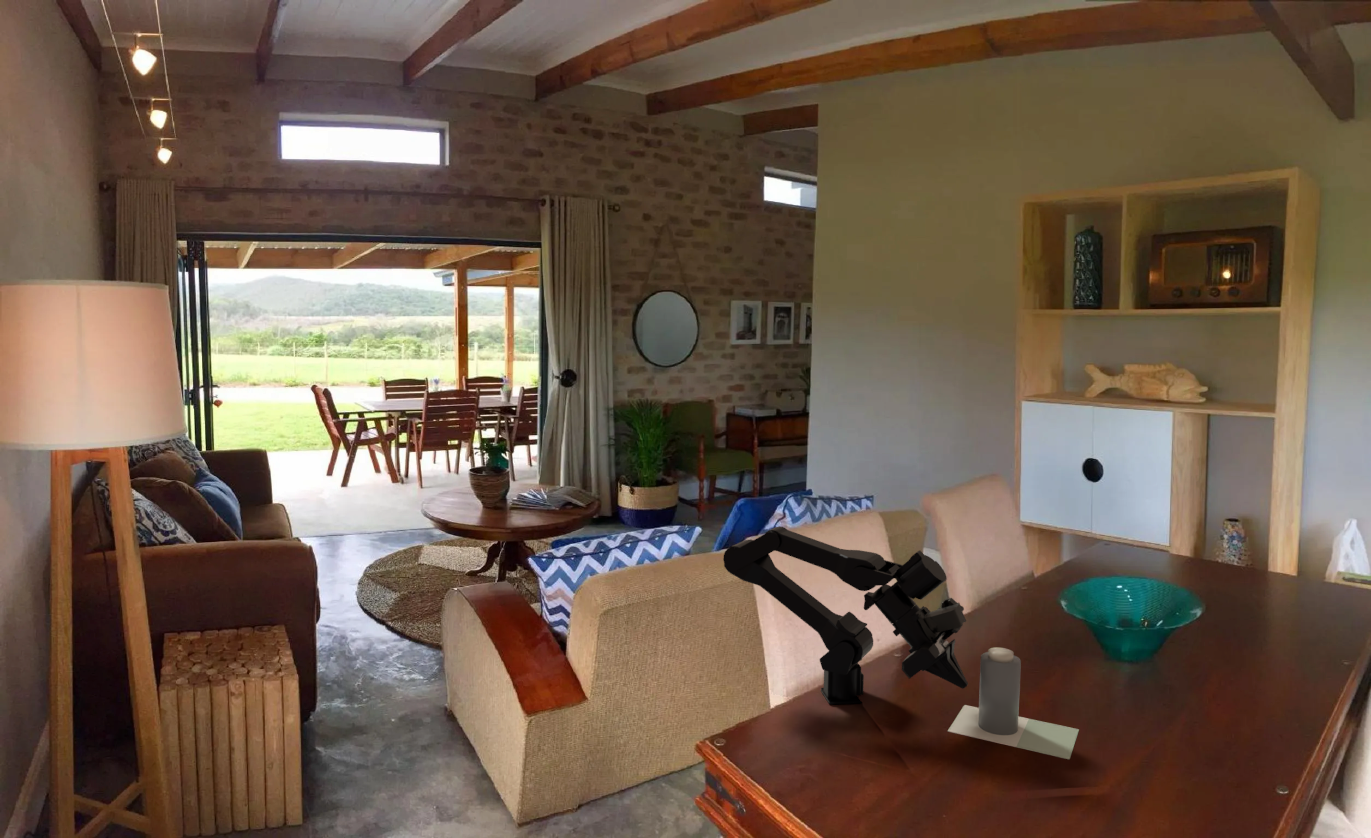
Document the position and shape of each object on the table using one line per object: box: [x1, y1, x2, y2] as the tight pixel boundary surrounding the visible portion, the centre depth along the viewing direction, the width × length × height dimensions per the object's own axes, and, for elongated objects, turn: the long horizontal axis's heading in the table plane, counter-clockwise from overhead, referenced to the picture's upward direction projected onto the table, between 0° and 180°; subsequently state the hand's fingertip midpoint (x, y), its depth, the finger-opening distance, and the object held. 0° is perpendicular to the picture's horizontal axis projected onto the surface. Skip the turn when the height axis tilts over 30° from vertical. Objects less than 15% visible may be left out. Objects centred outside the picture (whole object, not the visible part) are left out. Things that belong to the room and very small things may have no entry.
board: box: [947, 704, 1080, 760], centre depth 149 cm, size 19×12×1 cm, turn 59°
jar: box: [978, 647, 1022, 735], centre depth 150 cm, size 6×6×13 cm
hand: (965, 686), depth 152 cm, fingers closed
